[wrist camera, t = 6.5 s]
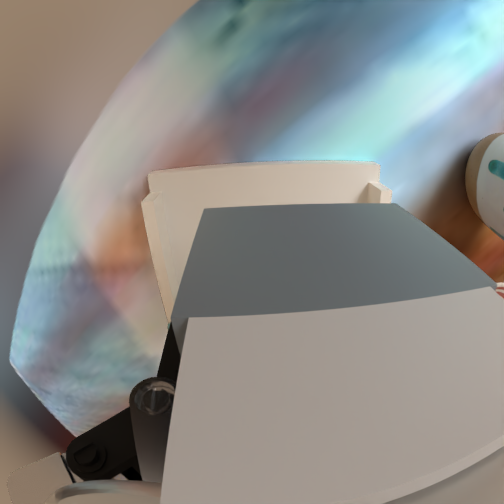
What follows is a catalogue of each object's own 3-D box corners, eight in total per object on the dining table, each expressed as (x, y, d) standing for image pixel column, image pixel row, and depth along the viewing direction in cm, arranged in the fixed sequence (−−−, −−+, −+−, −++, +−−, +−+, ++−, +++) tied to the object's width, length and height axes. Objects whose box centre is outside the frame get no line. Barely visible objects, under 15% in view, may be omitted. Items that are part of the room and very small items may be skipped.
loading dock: (152, 170, 23) (135, 184, 19) (373, 161, 24) (396, 173, 20) (177, 305, 30) (169, 335, 26) (357, 293, 30) (371, 320, 26)
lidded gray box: (210, 189, 10) (130, 502, 2) (369, 186, 10) (577, 374, 2) (228, 361, 13) (229, 553, 5) (343, 351, 13) (399, 524, 5)
